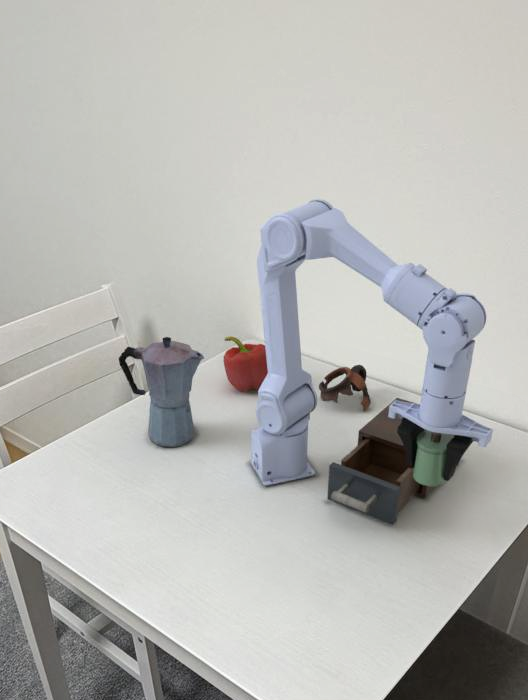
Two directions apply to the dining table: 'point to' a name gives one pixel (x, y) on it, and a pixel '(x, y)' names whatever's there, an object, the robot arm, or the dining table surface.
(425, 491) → the cabinet
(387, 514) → the drawer
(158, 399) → the moka pot
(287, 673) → the dining table surface
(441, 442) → the pot
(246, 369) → the vegetable
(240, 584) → the dining table surface
